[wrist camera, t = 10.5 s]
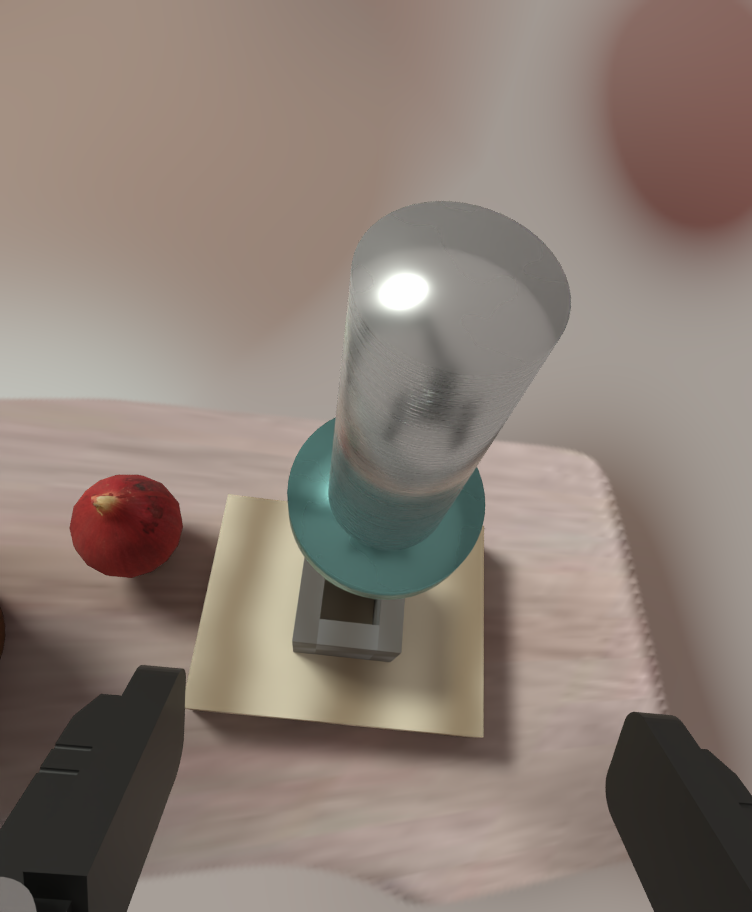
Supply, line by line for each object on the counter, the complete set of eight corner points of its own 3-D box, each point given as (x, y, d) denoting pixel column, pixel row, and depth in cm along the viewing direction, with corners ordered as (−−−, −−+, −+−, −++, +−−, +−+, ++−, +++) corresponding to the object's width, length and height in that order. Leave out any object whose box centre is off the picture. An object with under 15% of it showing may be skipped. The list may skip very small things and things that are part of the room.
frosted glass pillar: (279, 617, 21) (239, 415, 8) (302, 469, 24) (303, 130, 10) (440, 635, 21) (667, 472, 8) (445, 488, 24) (622, 183, 11)
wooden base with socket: (191, 710, 32) (164, 703, 26) (233, 511, 38) (219, 466, 31) (468, 737, 33) (507, 737, 27) (471, 540, 39) (504, 502, 32)
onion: (156, 484, 38) (123, 426, 31) (210, 547, 36) (188, 501, 29) (76, 541, 36) (20, 492, 29) (130, 610, 34) (85, 577, 27)
